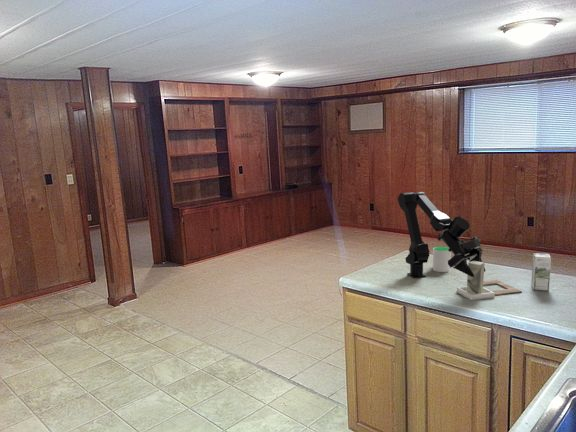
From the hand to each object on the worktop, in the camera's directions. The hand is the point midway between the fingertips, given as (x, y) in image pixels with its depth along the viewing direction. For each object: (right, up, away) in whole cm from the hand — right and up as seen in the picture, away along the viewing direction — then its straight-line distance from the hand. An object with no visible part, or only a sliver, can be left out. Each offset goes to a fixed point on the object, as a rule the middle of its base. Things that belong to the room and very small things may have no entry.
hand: (479, 273), depth 184 cm
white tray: (-1, -9, +3) cm, 9 cm away
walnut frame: (+10, -7, +10) cm, 16 cm away
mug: (-2, -3, +41) cm, 41 cm away
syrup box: (+28, -7, +7) cm, 30 cm away
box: (0, -8, +3) cm, 9 cm away
